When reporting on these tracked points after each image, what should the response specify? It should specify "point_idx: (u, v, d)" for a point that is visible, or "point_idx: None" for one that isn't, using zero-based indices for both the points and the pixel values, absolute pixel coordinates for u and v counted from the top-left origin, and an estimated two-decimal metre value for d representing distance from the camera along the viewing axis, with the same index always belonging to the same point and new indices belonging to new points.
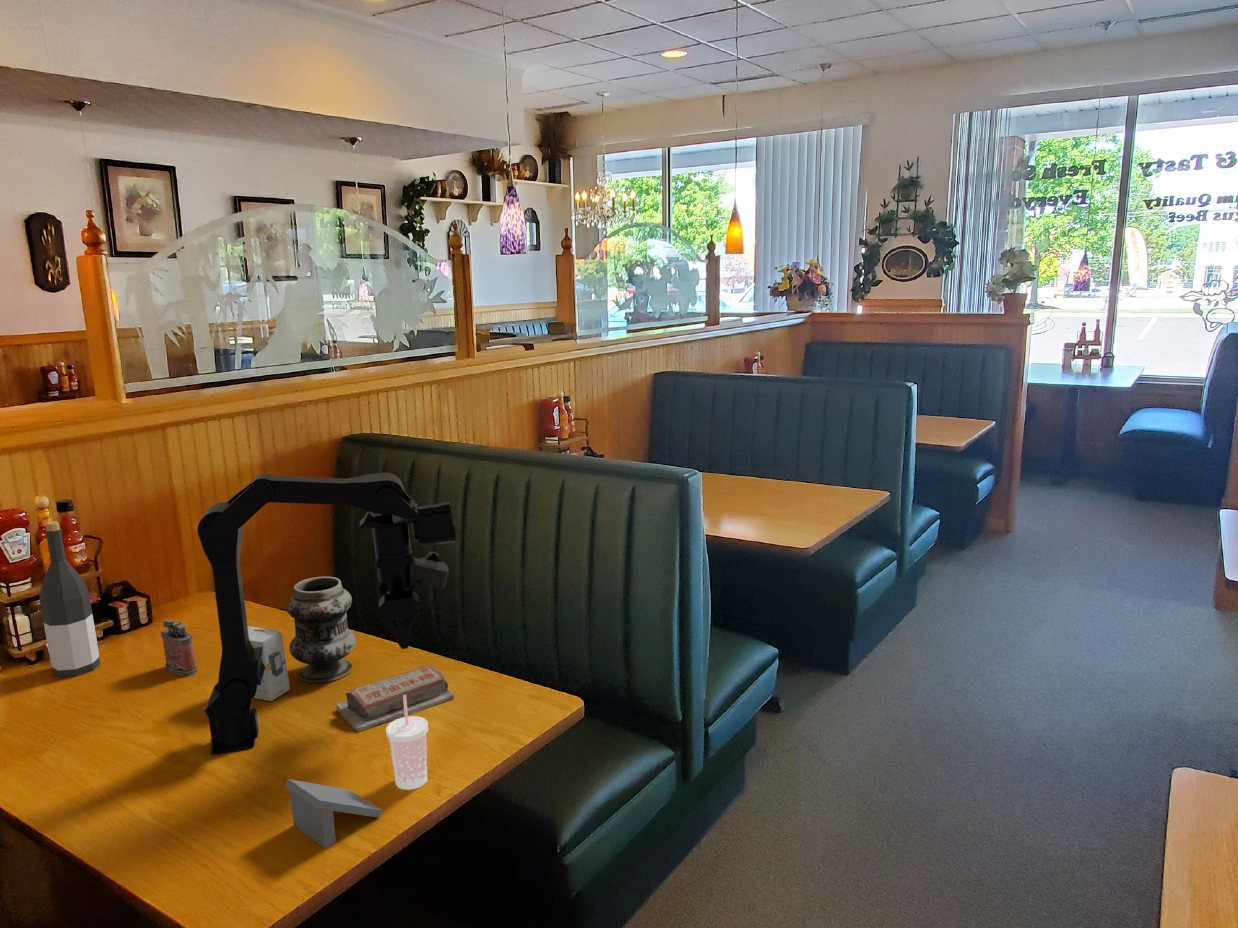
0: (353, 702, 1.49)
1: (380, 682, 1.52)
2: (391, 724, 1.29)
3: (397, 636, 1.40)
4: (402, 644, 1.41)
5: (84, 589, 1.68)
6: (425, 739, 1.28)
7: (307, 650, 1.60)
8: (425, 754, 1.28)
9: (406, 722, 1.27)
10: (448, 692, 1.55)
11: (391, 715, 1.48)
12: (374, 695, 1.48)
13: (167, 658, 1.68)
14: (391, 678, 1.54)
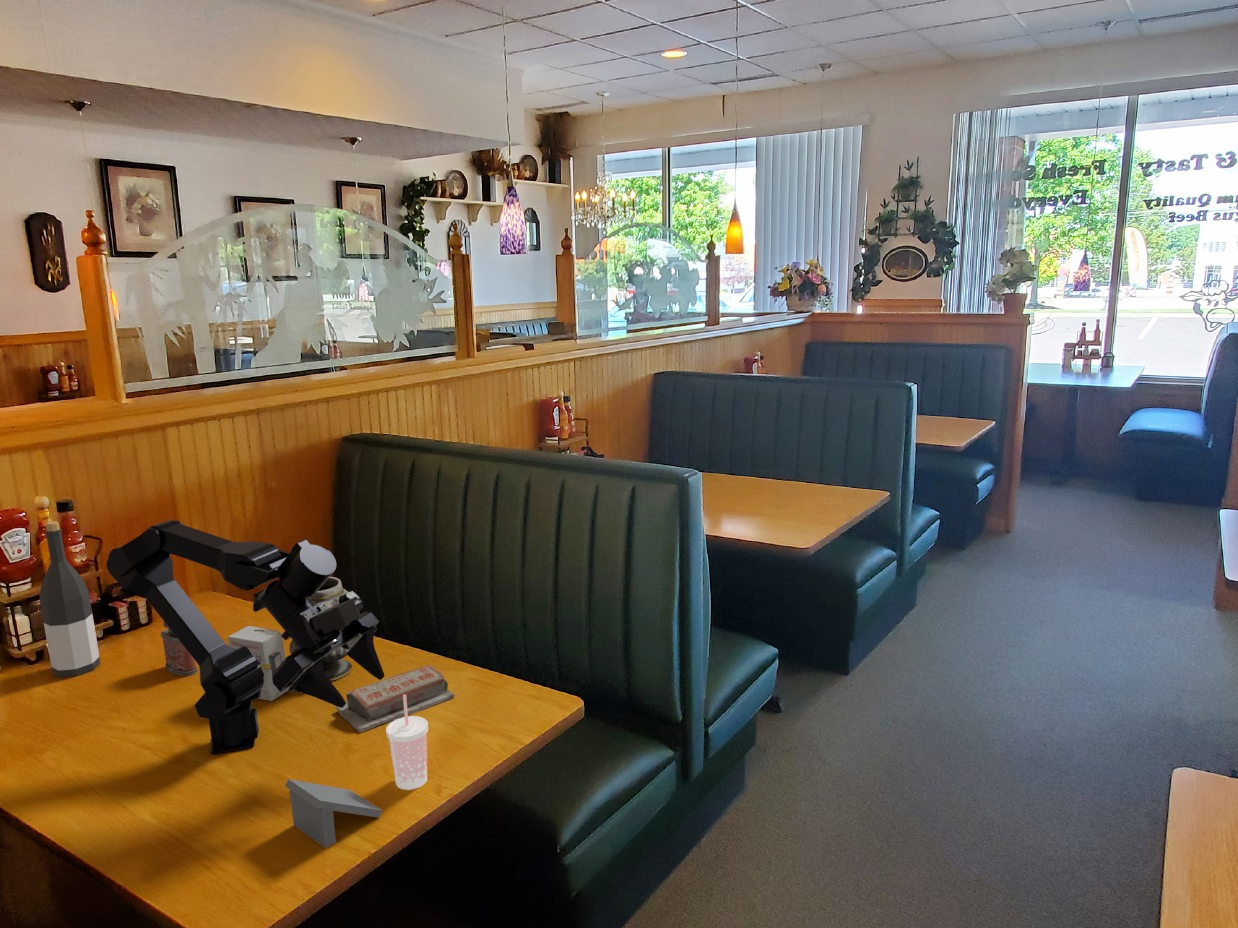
0: (354, 703, 1.48)
1: (380, 683, 1.52)
2: (391, 724, 1.29)
3: (324, 698, 1.25)
4: (336, 703, 1.25)
5: (84, 589, 1.68)
6: (425, 739, 1.28)
7: None
8: (425, 754, 1.28)
9: (406, 722, 1.27)
10: (448, 691, 1.56)
11: (393, 715, 1.48)
12: (376, 696, 1.48)
13: (167, 658, 1.68)
14: (391, 678, 1.54)
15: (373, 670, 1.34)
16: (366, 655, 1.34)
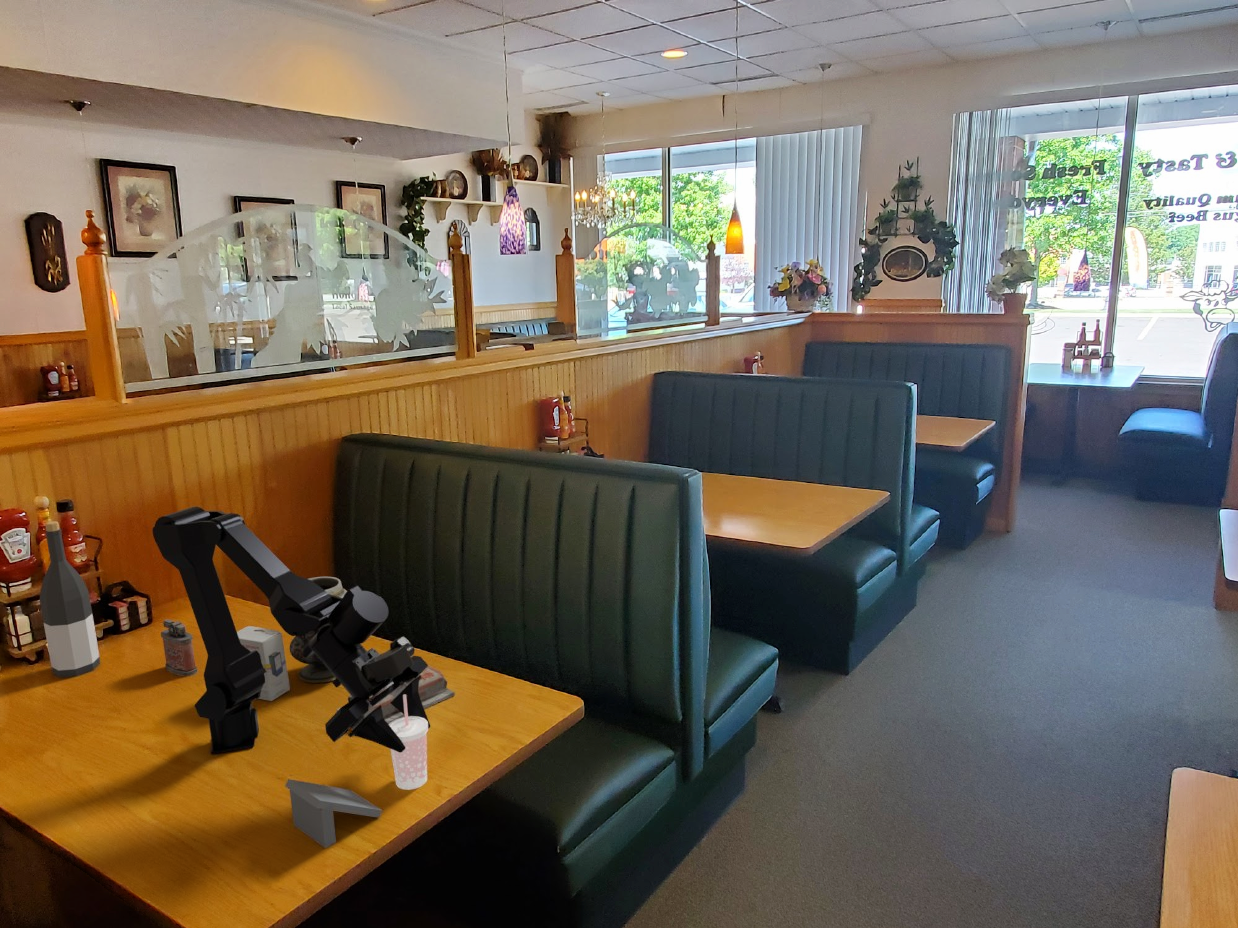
0: None
1: None
2: (391, 724, 1.29)
3: (383, 743, 1.25)
4: (395, 747, 1.25)
5: (84, 589, 1.68)
6: (425, 739, 1.28)
7: None
8: (425, 754, 1.28)
9: (406, 722, 1.27)
10: (448, 690, 1.56)
11: (397, 716, 1.48)
12: None
13: (167, 658, 1.68)
14: None
15: None
16: (411, 705, 1.31)
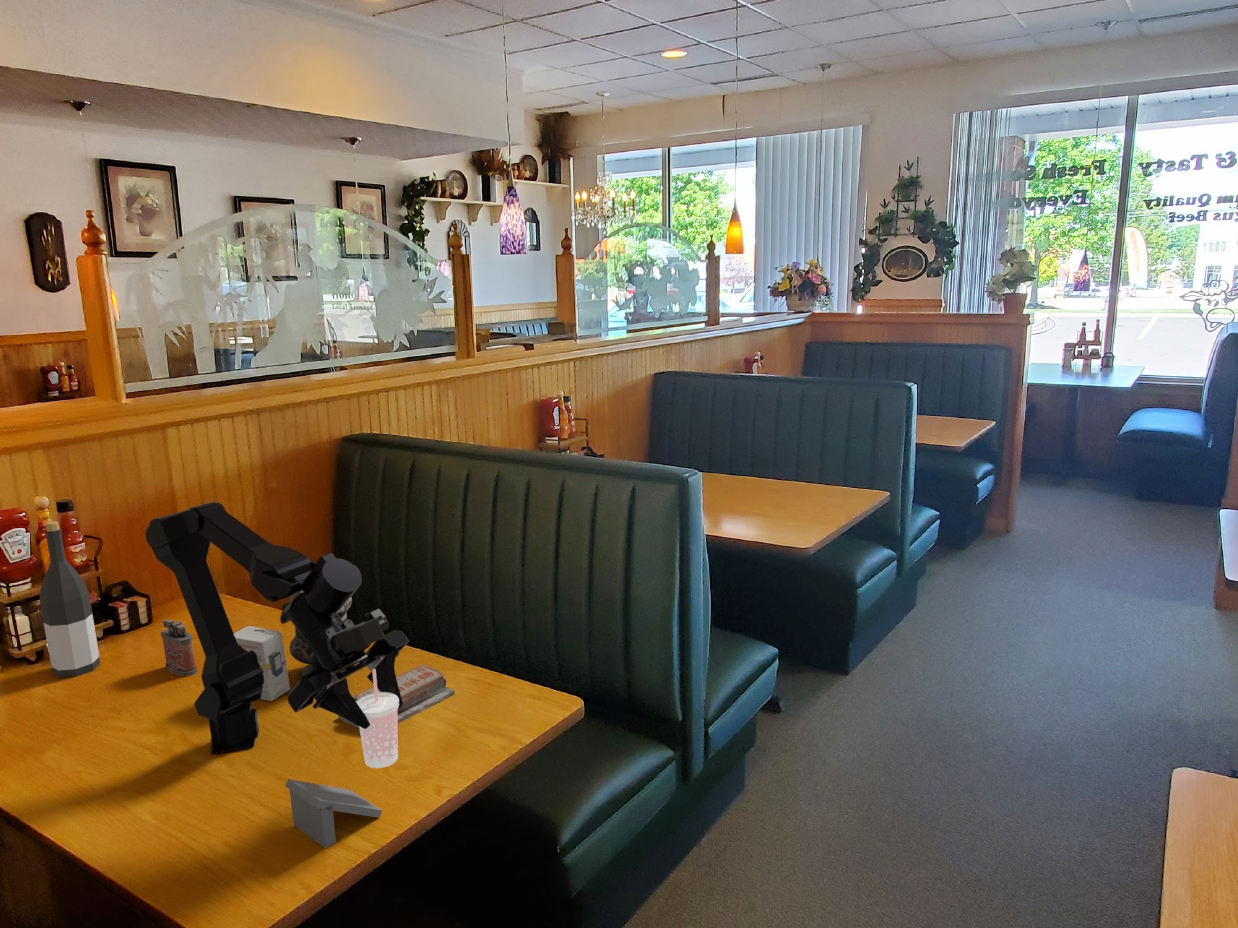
0: None
1: None
2: (362, 699, 1.23)
3: (348, 717, 1.20)
4: (360, 723, 1.19)
5: (84, 589, 1.68)
6: (394, 717, 1.22)
7: None
8: (394, 733, 1.23)
9: (375, 698, 1.22)
10: (447, 688, 1.57)
11: (401, 716, 1.47)
12: None
13: (167, 658, 1.68)
14: None
15: None
16: (386, 681, 1.26)
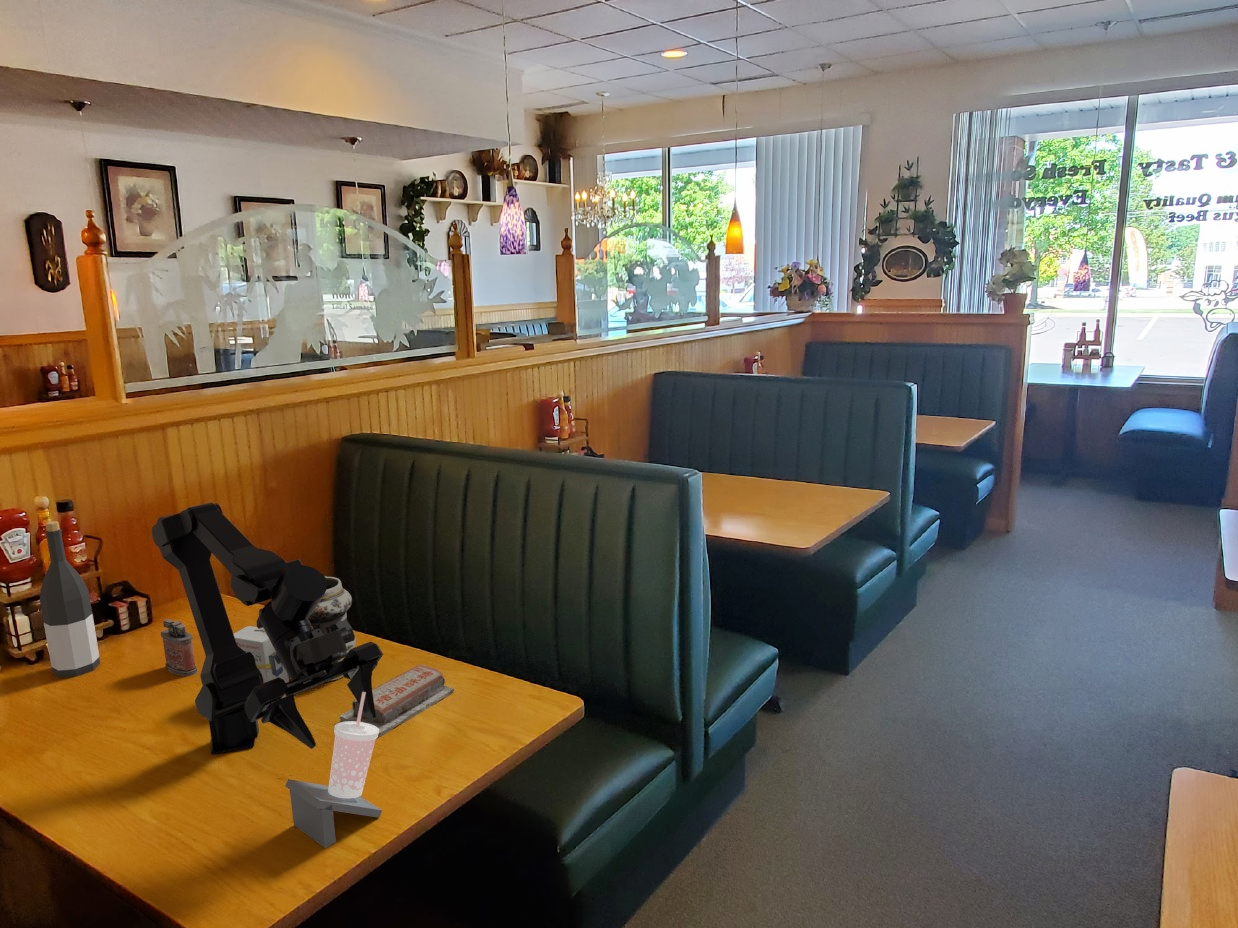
0: None
1: (382, 686, 1.51)
2: (345, 722, 1.22)
3: (295, 735, 1.15)
4: (306, 742, 1.14)
5: (84, 589, 1.68)
6: (369, 747, 1.20)
7: None
8: (364, 764, 1.19)
9: (357, 723, 1.21)
10: (446, 687, 1.57)
11: (405, 716, 1.47)
12: (386, 699, 1.47)
13: (167, 658, 1.68)
14: (390, 681, 1.53)
15: (366, 708, 1.21)
16: (361, 691, 1.22)
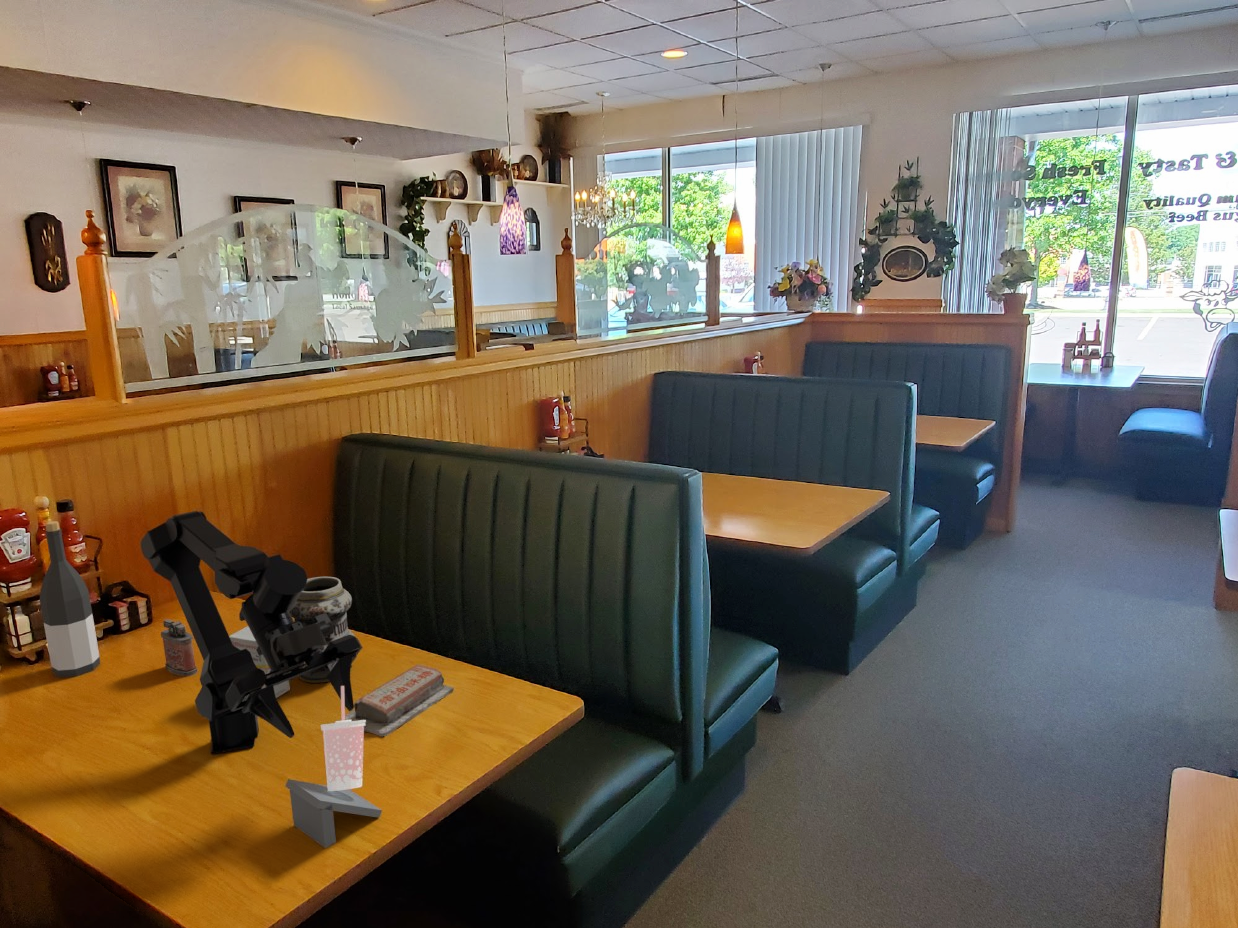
0: (366, 711, 1.46)
1: (383, 687, 1.50)
2: None
3: (275, 724, 1.18)
4: (285, 732, 1.17)
5: (84, 589, 1.68)
6: (359, 734, 1.22)
7: None
8: (359, 753, 1.21)
9: (342, 716, 1.23)
10: (446, 686, 1.58)
11: (408, 716, 1.47)
12: (388, 699, 1.47)
13: (167, 658, 1.68)
14: (391, 682, 1.52)
15: None
16: (340, 682, 1.25)
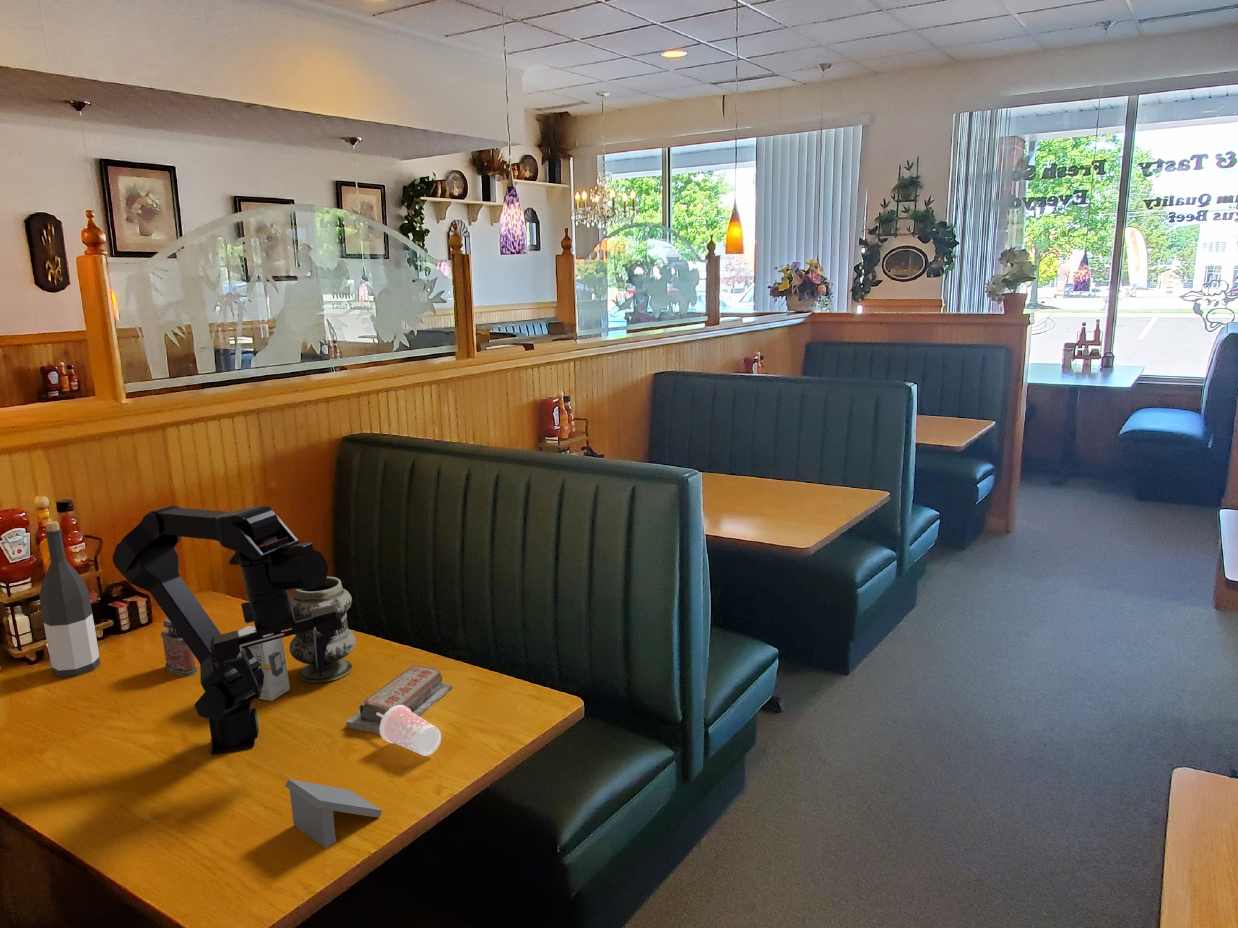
0: (372, 712, 1.45)
1: (386, 688, 1.50)
2: None
3: (323, 659, 1.35)
4: None
5: (84, 589, 1.68)
6: (396, 715, 1.38)
7: (307, 650, 1.60)
8: (405, 721, 1.36)
9: None
10: (444, 684, 1.58)
11: None
12: (394, 700, 1.46)
13: (167, 658, 1.68)
14: (392, 683, 1.52)
15: (256, 683, 1.32)
16: (250, 667, 1.32)
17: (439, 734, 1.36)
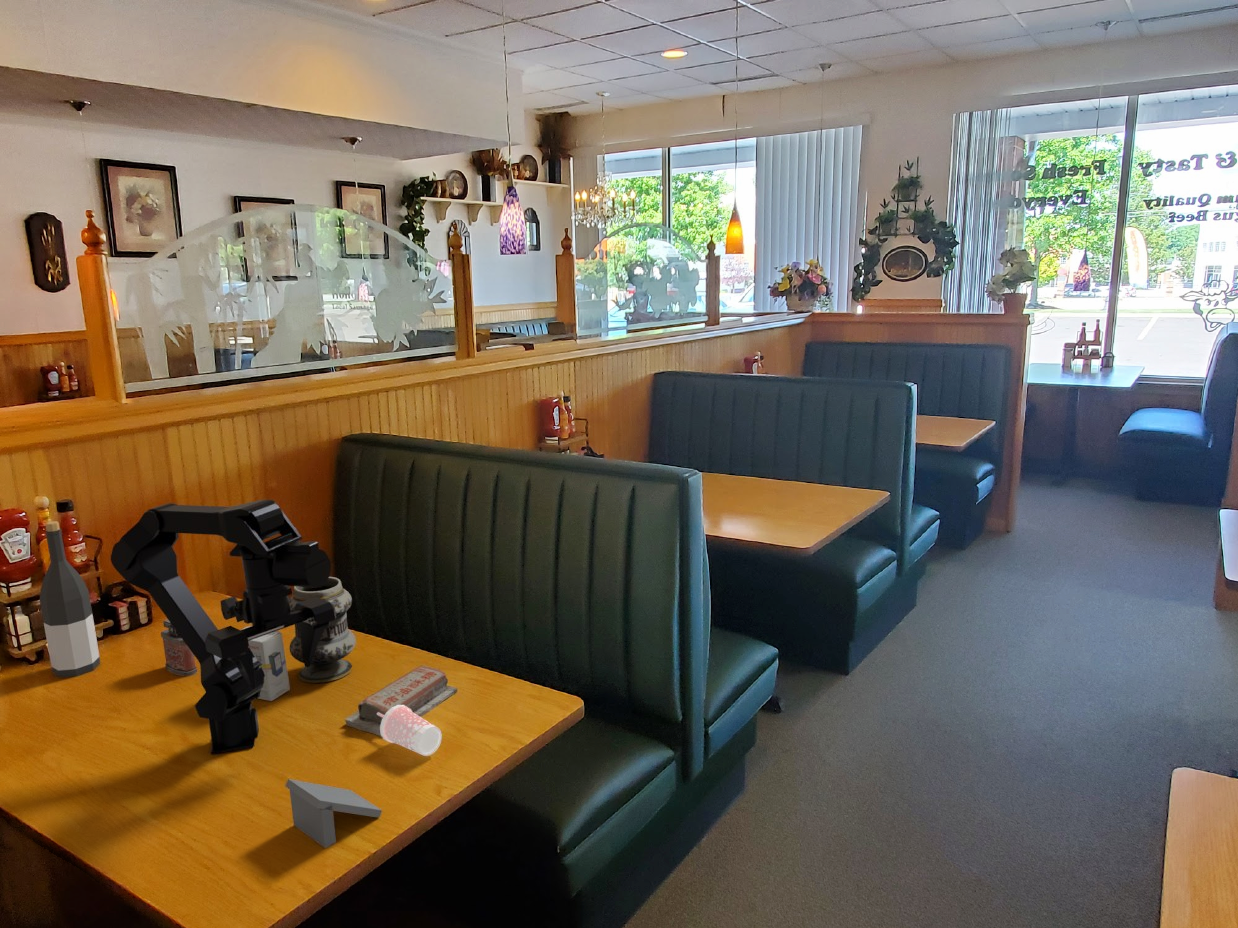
0: (370, 712, 1.45)
1: (387, 688, 1.50)
2: None
3: None
4: None
5: (84, 589, 1.68)
6: (397, 715, 1.38)
7: None
8: (406, 721, 1.37)
9: None
10: (449, 687, 1.57)
11: None
12: (392, 701, 1.46)
13: (167, 658, 1.68)
14: (394, 683, 1.52)
15: None
16: None
17: (440, 734, 1.36)
